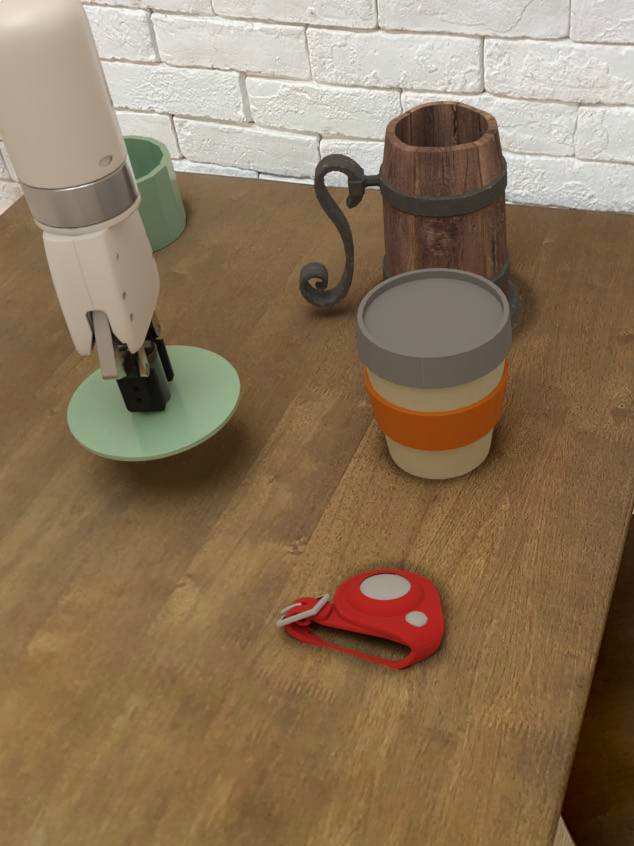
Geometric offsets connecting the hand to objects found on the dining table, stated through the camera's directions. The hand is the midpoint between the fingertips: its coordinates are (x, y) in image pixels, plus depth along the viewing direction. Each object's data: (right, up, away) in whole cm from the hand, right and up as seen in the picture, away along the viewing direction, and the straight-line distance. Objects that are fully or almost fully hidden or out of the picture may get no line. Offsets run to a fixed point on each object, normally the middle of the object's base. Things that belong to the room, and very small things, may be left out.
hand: (151, 393), depth 79 cm
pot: (-12, +26, +36) cm, 46 cm away
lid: (0, -1, +1) cm, 1 cm away
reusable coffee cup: (+24, -4, +6) cm, 26 cm away
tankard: (+23, +11, +20) cm, 32 cm away
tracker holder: (+18, -19, -6) cm, 27 cm away
